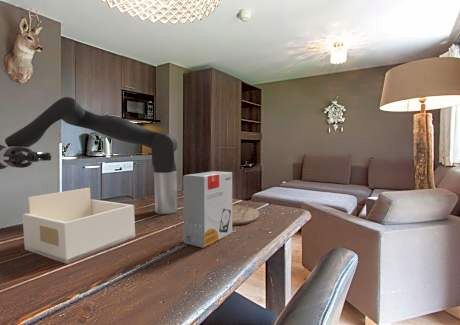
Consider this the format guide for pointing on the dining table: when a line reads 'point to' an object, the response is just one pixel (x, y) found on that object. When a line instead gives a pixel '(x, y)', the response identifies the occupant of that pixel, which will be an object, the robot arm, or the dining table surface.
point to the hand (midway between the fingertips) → (42, 157)
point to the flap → (62, 205)
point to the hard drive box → (207, 207)
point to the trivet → (243, 215)
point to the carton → (79, 232)
